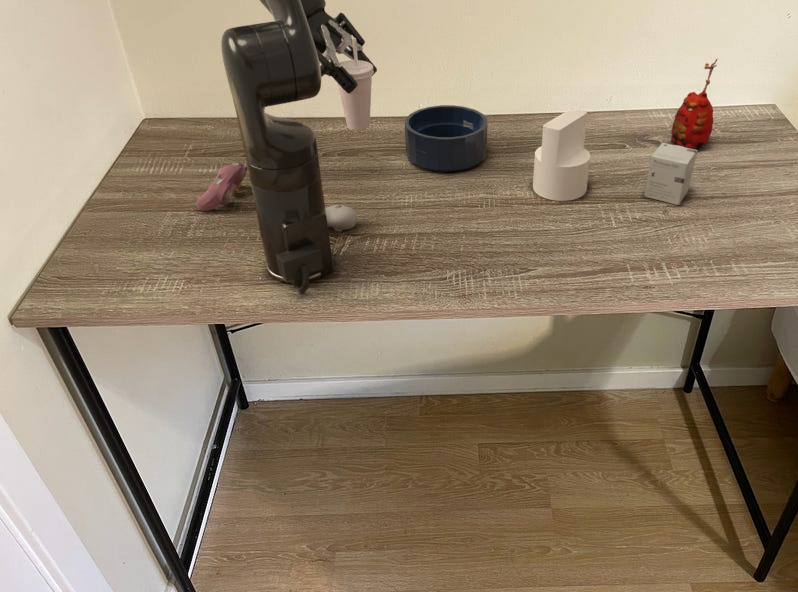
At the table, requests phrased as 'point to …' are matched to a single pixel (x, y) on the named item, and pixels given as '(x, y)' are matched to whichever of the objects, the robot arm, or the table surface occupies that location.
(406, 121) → the bowl
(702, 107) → the red clay folk toy
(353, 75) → the smoothie
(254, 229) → the table surface
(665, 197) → the product carton
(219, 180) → the video game controller
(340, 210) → the white head bust
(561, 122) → the base with upright slab
